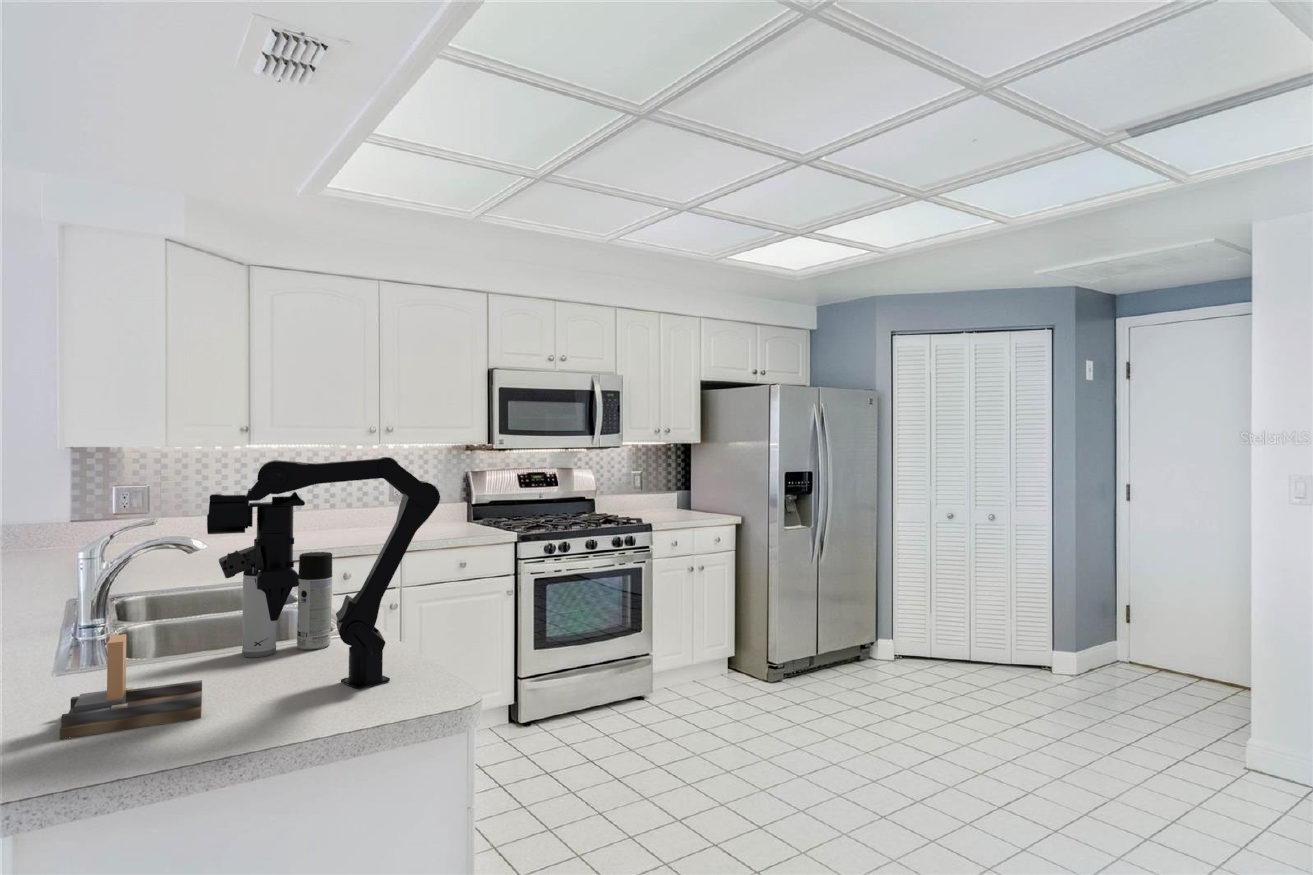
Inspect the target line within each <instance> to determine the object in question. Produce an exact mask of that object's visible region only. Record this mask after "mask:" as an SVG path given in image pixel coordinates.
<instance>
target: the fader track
mask: <svg viewBox="0 0 1313 875" xmlns="http://www.w3.org/2000/svg"><path fill="white" fill-rule="evenodd" d="M79 696H80V695H78V696H72V697H71V698H70V704H69V705H70V706H69V707H70V709H69V711H68V713H63V714H62V715H61V717H60V719H61V720H60V722H61V723H60V728H59V740H64V739H63V738H66V739H70V738H69V737H73V738H77V737H78V738H79V737H84V736H90V735H97V734H105V733H111V732H116V731H117V732H118V731H123V730H124V731H125V730H132V729H137V728H144V727H150V726H158V725H163V724H169V723H176V722H177V723H178V722H182V721H183V722H184V721H191V720H198V719H202V704H203V702H202V701H203V680H202V679H201V680H199V679H198V680H194V681H193V680H192V681H186V682H185V681H184V682H178V683H171V684H170V683H169V684H163V685H155V686H146V687H138V688H134V687H126V702H125V704H119V705H112V707H110V708H103V709H96V710H89V711H81V712H74V706H75V704H76V702H77V700H78V698H79Z"/></svg>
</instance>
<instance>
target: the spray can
mask: <svg viewBox="0 0 1313 875" xmlns="http://www.w3.org/2000/svg"><path fill="white" fill-rule="evenodd" d="M298 558H299V559H298V575H299V586H297V587H298V588H297V590H298V591H297V622H296V623H297V626H296V630H297V631H296V632H297V633H296V646H297V649H298V650H301V651H317V650H322V649H326V648H328V647H329V646H330V645H331V640H332V639H331V638H332V635H331V634H332V603H333V602H332V599H333V596H332V595H333V553H332V552H329V551H328V552H327V551H314V552H313V551H309V552H304V553H300V554H299V557H298ZM327 646H328V647H327ZM325 647H326V648H325Z"/></svg>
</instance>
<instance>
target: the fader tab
mask: <svg viewBox="0 0 1313 875" xmlns="http://www.w3.org/2000/svg"><path fill="white" fill-rule="evenodd" d="M106 647H107V650H106V651H107V653H106V655H107V658H106V660H107V663H106V668H107V670H106V672H107V673H106V690H100V691H91V692H85V693H80V694H79V695H78V696H79V698H78V700H77V702H76V704H75V706H74V712H81V711H89V710H96V709H103V708H110V707H112V705H119V704H125V702H126V688H127V687H126V686H127V634H125V633H124V634H115V635H111V636H110V637H109V639H108V641H107V646H106Z"/></svg>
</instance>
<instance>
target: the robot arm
mask: <svg viewBox="0 0 1313 875" xmlns="http://www.w3.org/2000/svg"><path fill="white" fill-rule="evenodd" d="M377 479H383V480H384V481H386V482H387V484H390V485H391V487H393V488H394V489H395V490H396V491H398V492H399V493H400V494H402V496H401V500H400V503H399V507H398V510H397V516H396V521H395V523H394V524H393V527H392V529H391V531H390V532H389V535H388V536H387V538H386V540H385V542H384V544H383V547H382V548H381V550H380V552H379V554H378V556H377V558H376V559H375V562H374V563H373V565H372V567H371V568H370V569H371V570H370V571H369V573H368V575H367V577H366V579H365V580H364V583H363V584H362V587H361V589H360V590H359V591H358V592H357V593H356V594H355V595H354V596H353V597H351V596H350V595H348V594H346V595H345V597H344V600H343V603H342V606H341V607H340V609H339V610H338V611H337V612H336V613H335V617H336V619H337V620H336V625H335V626H336V628H337V632H338V635H339V638H340V640H341V641H342V642H343V643H344V644H346V645H347V646H350V647H348V677H344V678H341V679H340V683H342V684H345V685H346V686H348V687H351V688H354V689H356V690H362V689H365V688H369V687H373V686H376V685H380V684H383V683H384V684H385V683H389V682H390V681H391V679H390V677H388V676H386V675H384V674H383V662H384V661H383V659H384V658H383V654H384V653H383V652H384V651H383V650H384V648H385V645H386V640H385V639H384V637H383V635H382V633H381V631H380V630H379V629H378V628H377V627H376V623H377V620H378V616H379V611H380V607H381V602H382V599H383V598H384V596H385V593H386V592H387V589H388V588H389V585H390V583H391V581H392V579H393V577H394V575H395V574H396V572H397V570H398V567H399V566H400V564H401V562H402V559H403V558H404V556H405V554H406V552H407V551H408V548H409V546H410V544H411V542H412V541H413V537H414V536H415V535H416V532H418V530H419V529H420V528H421V526H422V525H424V524H425V522H426V521H428V519H429V518H430V517H431V515H432V514H433V513H434V511H435V510H436V508H437V507H438V506H439V504H440V500H441V495H440V494H441V493H440V491H439V489H438V488H437V486H435V485H434V484H432V483H430V482H428V481H424V480H419V479H418V478H417V477H416V476H414V475H413V474H412V473H411V472H409V471H408V470H407V469H405V468H404V467H403V466H401V465H400V464H399V463H398V461H397V460H396V459H395V458H392V457H389V456H383V457H379V458H370V459H358V460H357V459H355V460H344V461H332V462H331V461H330V462H318V463H312V462H303V461H302V462H301V461H290V460H280V459H279V460H278V459H274V460H269V461H267V462H265V463H264V464H263V465H262V466H261V467H260V468H259V470H258V472H257V479H256V480H257V481H256V482H255V484H253V486H252V487H251V488H248V489H247V493H246V494H221V493H212V494H210V495H209V502H208V503H209V504H208V505H209V506H208V513H207V515H206V517H207V518H206V527H207V528H206V531H207V535H224V534H225V535H229V534H245V533H246V529H249V528H252V527H253V525H254V524H253V521H254V520H253V518H254V517H253V515H254V514H253V513H254V510H253V508H256V509H257V510H256V537H255V538H254V539H253V545H252V546H249V547H246V548H243V549H240V550H237V549H236V550H235V551H233V552H228V553H227V555H224V556H222V557H220V558H218V563H219V566H220V568H221V570H222V573H223V575H224V577H225V579H231V578H233V577H235V576H236V575H237V574H240V573H242V572H244V571H245V570H248V569H251V568H253V574H257V572H259V573H258V574H257V575H256V579H255V584H256V587H257V589H259V590H262V591H263V592H264V593H265V596H266V601H267V606H268V611H269V616H270V620H271V621H276V622H278V619H279V618H280V615H281V613H282V611H283V609H284V607H285V605H286V602H287V600H288V598H289V597H290V594H291V592H292V590H293V588H296V587H298V586H299V575H298V574H299V572H297V570H295V569H294V567H295V565H294V564H295V561H294V555H293V554H294V544H295V537H294V507H300V506H301V507H302V506H305V505H306V502H305V500H304V499H303V498H301V497H300V496H299V495H298V493H297V492H296V491H297V490H300V489H303V488H307V487H310V486H314V485H322V484H330V483H342V482H343V483H344V482H351V481H352V482H353V481H364V480H377ZM289 492H292V494H291V495H289V496H288V495H286V496H272V497H271V501H266V502H265V501H264V502H262V501H261V500H263V499H264V498H266V497H268V496H269V495H281V494H284V493H289ZM255 501H257V502H255ZM258 501H261V502H258Z"/></svg>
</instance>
